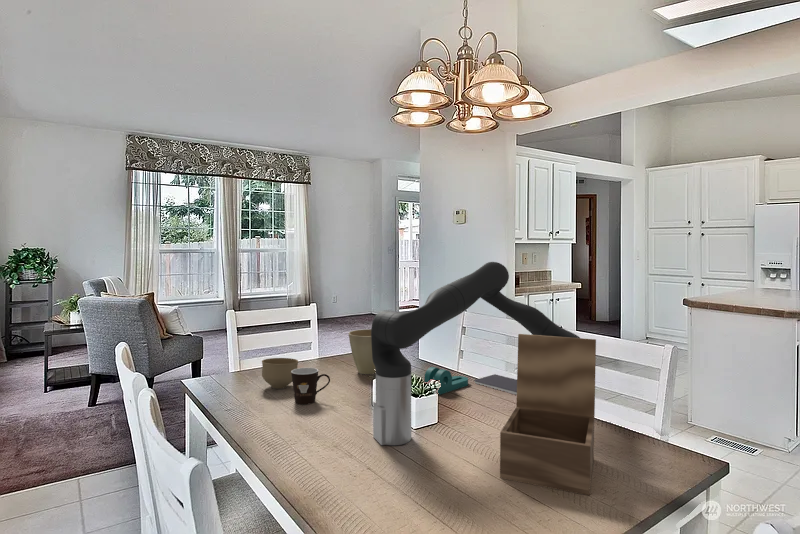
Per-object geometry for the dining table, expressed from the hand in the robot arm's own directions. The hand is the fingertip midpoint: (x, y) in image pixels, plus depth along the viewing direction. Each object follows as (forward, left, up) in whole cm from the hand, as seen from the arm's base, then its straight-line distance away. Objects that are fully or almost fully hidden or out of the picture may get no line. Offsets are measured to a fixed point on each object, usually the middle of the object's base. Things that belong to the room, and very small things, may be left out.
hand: (555, 375), depth 117 cm
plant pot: (-19, +87, -19) cm, 91 cm away
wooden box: (-8, -7, -18) cm, 21 cm away
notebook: (+21, +49, -19) cm, 57 cm away
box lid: (-1, -1, +1) cm, 1 cm away
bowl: (-54, +80, -19) cm, 98 cm away
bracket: (+1, +56, -19) cm, 59 cm away
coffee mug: (-48, +60, -19) cm, 79 cm away
